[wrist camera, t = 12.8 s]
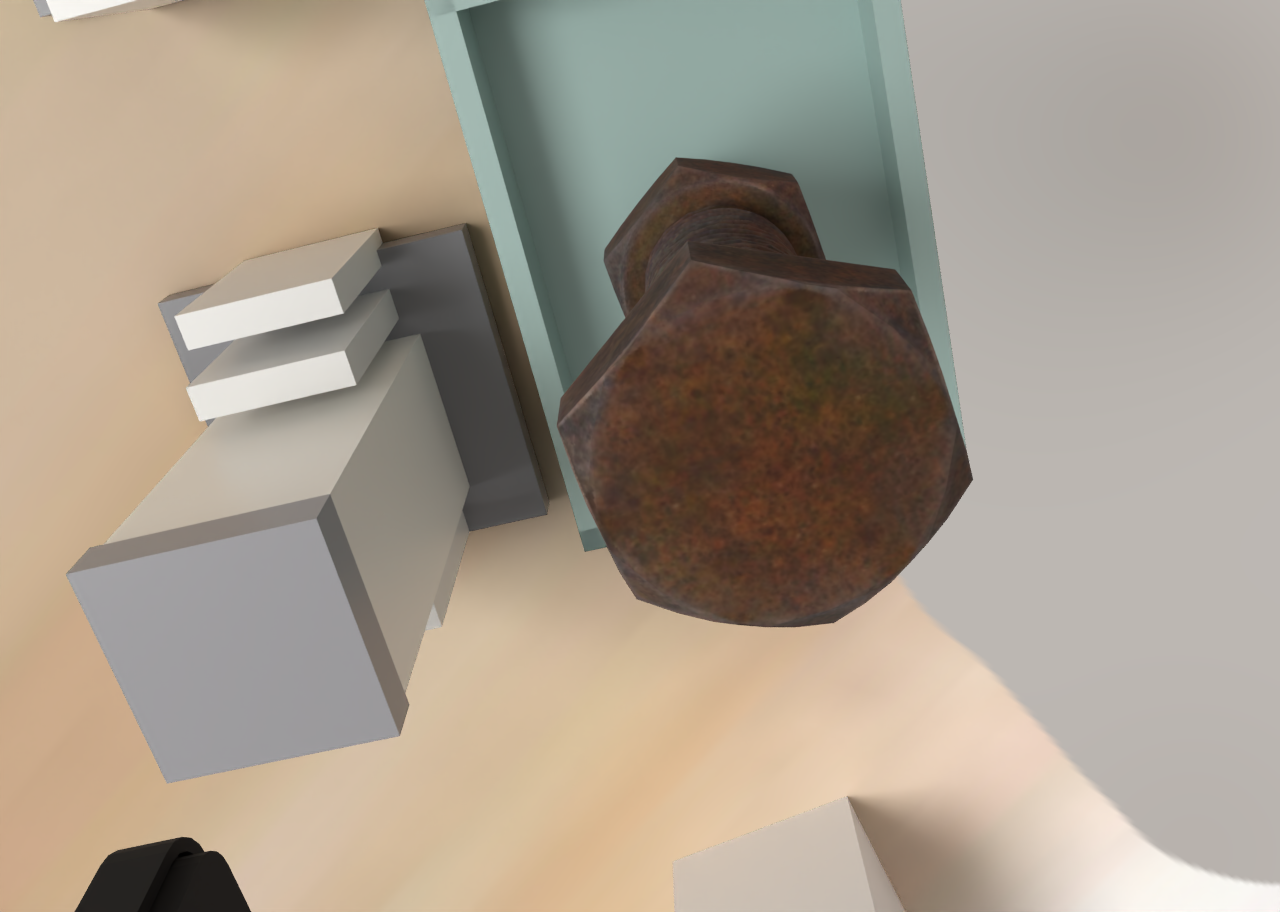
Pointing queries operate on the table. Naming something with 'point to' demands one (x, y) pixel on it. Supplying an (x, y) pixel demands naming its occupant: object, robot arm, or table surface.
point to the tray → (679, 145)
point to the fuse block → (309, 494)
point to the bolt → (758, 409)
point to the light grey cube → (789, 869)
